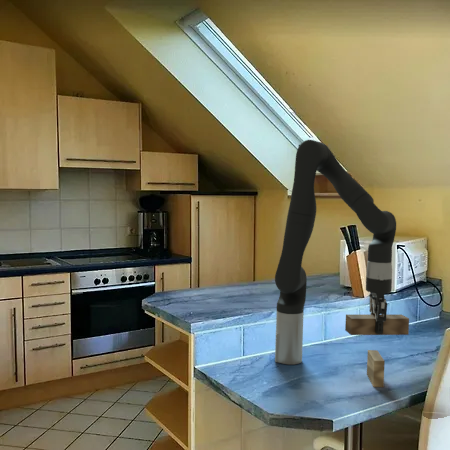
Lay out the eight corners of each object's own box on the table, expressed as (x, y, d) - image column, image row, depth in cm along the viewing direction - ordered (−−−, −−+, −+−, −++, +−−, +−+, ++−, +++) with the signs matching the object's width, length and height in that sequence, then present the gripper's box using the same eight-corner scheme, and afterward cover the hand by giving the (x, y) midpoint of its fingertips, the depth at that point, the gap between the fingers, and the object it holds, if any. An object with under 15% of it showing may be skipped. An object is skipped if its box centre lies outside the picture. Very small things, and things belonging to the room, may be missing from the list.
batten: (350, 335, 144) (351, 318, 144) (345, 330, 149) (345, 314, 149) (408, 334, 146) (409, 318, 146) (400, 330, 151) (401, 314, 151)
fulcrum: (373, 386, 144) (374, 360, 143) (366, 374, 154) (367, 349, 153) (383, 387, 143) (384, 361, 143) (376, 375, 153) (377, 350, 153)
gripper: (362, 272, 154) (360, 324, 155) (371, 279, 140) (368, 337, 141) (386, 273, 154) (384, 325, 154) (397, 280, 139) (395, 338, 140)
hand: (376, 330), depth 148 cm, fingers closed on batten, 5 cm apart
